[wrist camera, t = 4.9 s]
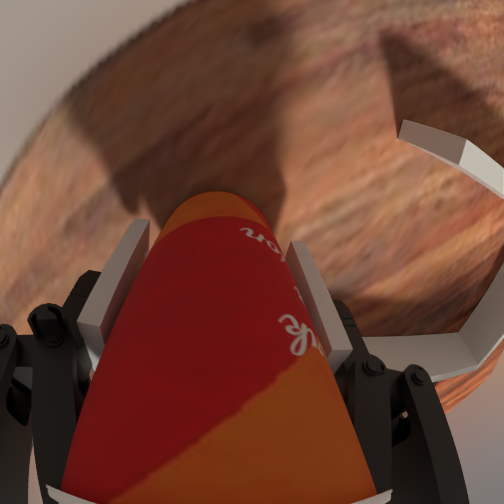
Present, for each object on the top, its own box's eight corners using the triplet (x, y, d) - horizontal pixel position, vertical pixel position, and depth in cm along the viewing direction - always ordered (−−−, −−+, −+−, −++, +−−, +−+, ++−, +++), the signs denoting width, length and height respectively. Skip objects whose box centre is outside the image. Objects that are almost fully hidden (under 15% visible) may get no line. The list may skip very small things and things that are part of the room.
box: (308, 345, 21) (322, 399, 16) (403, 119, 12) (466, 139, 8) (457, 339, 24) (476, 369, 20) (532, 208, 15) (564, 234, 11)
